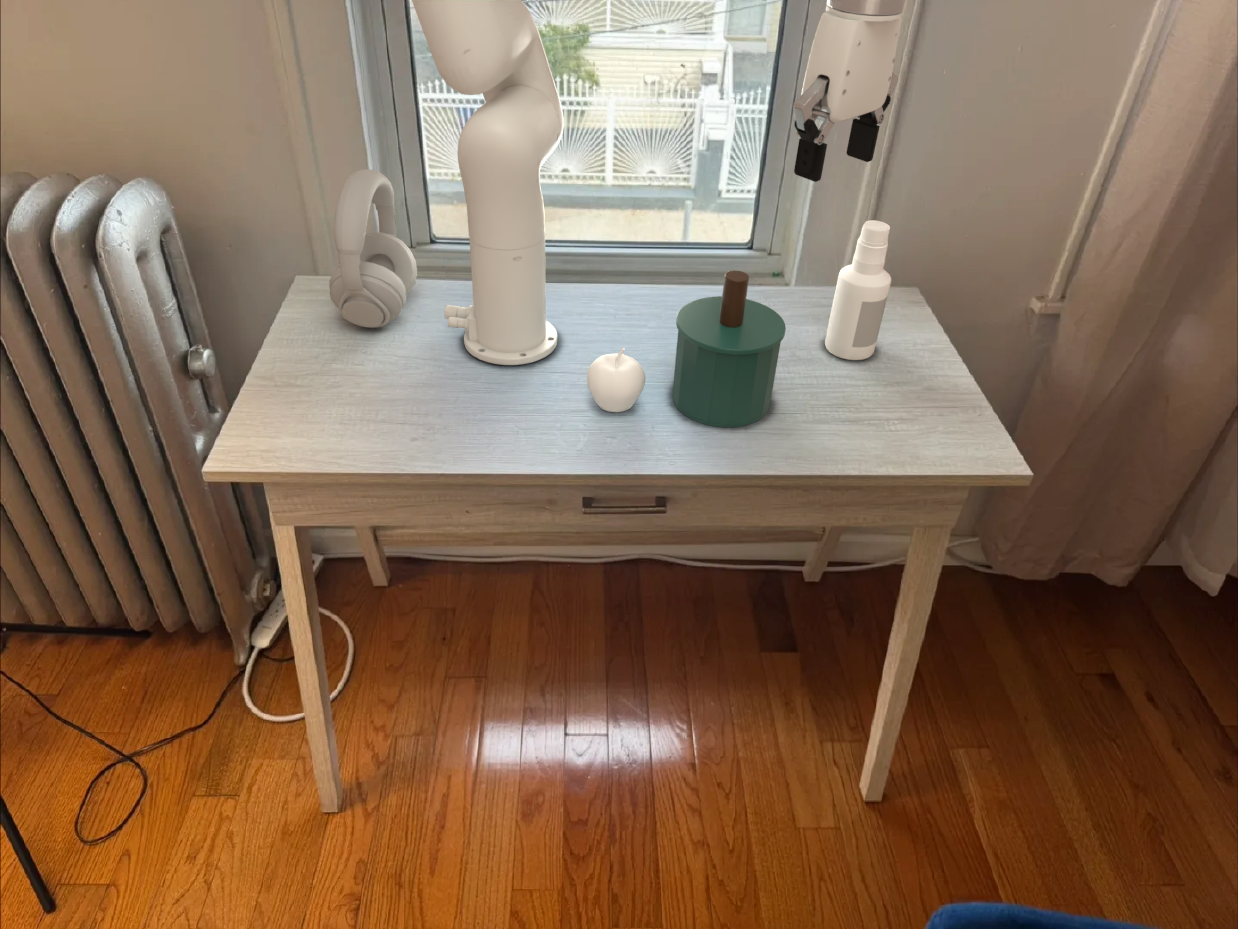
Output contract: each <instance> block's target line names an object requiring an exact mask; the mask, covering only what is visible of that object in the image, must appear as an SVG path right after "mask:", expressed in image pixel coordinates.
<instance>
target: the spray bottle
mask: <svg viewBox="0 0 1238 929" xmlns="http://www.w3.org/2000/svg"><path fill="white" fill-rule="evenodd" d="M890 231H891V226H890V225H889V224H888V223H886V222H885V221H881V220H874V219H873V220H866V221H865V222H864V223H863V225H862V226H861V231H860V234H859V237H858V238H857V242H856V246H855V251H854V253H853V256H852V263H851V264H848V265H847V264H846V265H845V266H843V267H842V268H841V269H840V270H839V273H838V276H837V281H836V286H835V291H834V295H833V300H832V305H831V309H830V316H829V320H828V324H827V325H828V326H827V329H826V334H825V339H824V344H825V349H826V350H827V351H828V352H829V353H830V354H831V355H833V356H835V357H837V358H839V359H842V360H843V359H844V360H848V361H862V360H867V359H869V358H870V357H871V356H873V354H874V353H875V349H876V345H877V342H878V338H879V334H880V329H881V325H882V321H883V317H884V313H885V308H886V305H887V301H888V296H889V292H890V288H891V285H892V277H891V275H890V273H888V271H886V270H885V269H884V267H885V263H886V255H887V253H888V252H887V251H888V247H889V242H888V241H889V234H890Z"/></svg>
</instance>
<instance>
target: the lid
mask: <svg viewBox="0 0 1238 929" xmlns="http://www.w3.org/2000/svg"><path fill="white" fill-rule="evenodd" d="M749 282H750V276H749V274H748V273H747V272H744V271H741V270H728V271H727V272H725V274H724V277H723V287H722V295H721V296H720V295H719V296H718V295H717V296H707V297H702V298H699V299H694V300H693V301H690V302H688V303H686V304H685V305H684V306H682V307H681V308H680V309H679V310H678V312H677V314H676V318H675V319H676V320H675V325H676V328H677V330H678V331H679V332H680V333H681V335H682V336H683V337H684V338H686V339H687V340H688V341H690V342H691V343H693V344H695V345H697V346H699V347H702V348H704V349H707V350H711V351H715V352H719V353H726V354H753V353H759V352H763V351H766V350H769V349H771V348H773V347H775V346H776V345H778V344H779V343H780V342H782V341H783V340H784V338H785V335H786V330H787V329H786V328H787V327H786V323H785V321H784V319H783V317H782V316H781V315H780V314H779V313H778V312H776V311H775V310H774V309H772V308H771V307H769V306H767V305H766V304H763V303H761V302H758V301H755V300H751V299H748V298H747V296H748V289H749V288H748V287H749ZM678 331H677V332H678ZM780 344H781V343H780Z"/></svg>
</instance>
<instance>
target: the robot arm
mask: <svg viewBox="0 0 1238 929" xmlns="http://www.w3.org/2000/svg"><path fill="white" fill-rule="evenodd" d="M411 2H412V5H413V8H414V10H415V13H416V15H417V19H418V21H419V24H420V26H421V29H422V32H423V34H424V37H425V41H426V42H427V45H428V48H429V51H430V54H431V56H432V60H433V62H434V65H435V67H436V69H437V72H438V74H439V75H440V77H441V79H442V80H443V81H444V83H445V84H446V85H447V86H449V87H450V88H451V89H452V90H453V91H455V92H456V93H458V94H460V95H466V96H474V95H475V96H476V95H482V96H483V98H484V102H485V103H483V104H482V105H481V106H480V107H479V108H477V110H475V111H474V112H473V114H472V115H471V116H470V117H469V118H468V119H467V121H466V122H465V124H464V126H463V127H462V129H461V132H460V134H459V138H458V142H457V162H458V168H459V173H460V178H461V183H462V186H463V192H464V198H465V205H466V215H467V216H466V217H467V230H468V239H469V255H470V256H469V257H470V271H471V273H470V274H471V287H472V302H473V305H467V307H466V306H465V307H463V306H459V305H452V304H445V306H444V309H443V316H444V317H443V318H444V320H447V327H448V328H453V329H454V328H455V329H456V328H457V329H458V328H460V329H464V334H463V344H464V347H465V349H466V351H467V352H468V353H469V354H470V355H471V356H472V357H474V358H476V359H477V360H480V361H482V362H486V363H490V364H493V365H500V366H519V365H527V364H531V363H534V362H539V361H540V360H542V359H544V358H546V357H547V356H549V355H550V354H552V353H553V351H554V350H555V349H556V348H557V345H558V331H557V329H556V327H555V326H554V324H552V323H551V322H549V321H548V320H547V303H546V302H547V301H546V300H547V297H546V296H547V295H546V294H547V293H546V290H547V289H546V288H547V287H546V286H547V284H546V282H547V281H546V276H547V275H546V222H545V221H546V219H545V218H546V217H545V206H544V198H543V192H542V188H541V187H542V186H541V181H540V173H541V169H542V166H543V165H544V163H545V162H546V161H547V159H548V158H549V157H550V156H551V155H552V154H553V152H554V151H555V150H556V148H558V145H559V143H560V141H561V139H562V137H563V133H564V128H565V126H564V125H565V120H564V111H563V107H562V103H561V99H560V96H559V92H558V89H557V86H556V83H555V79H554V76H553V73H552V70H551V67H550V63H549V61H548V57H547V53H546V50H545V47H544V44H543V41H542V38H541V35H540V32H539V29H538V26H537V24H536V22H535V19H534V17H533V16H532V13H531V12H530V10H529V8H528V7H527V6H526V4H525V3H524V2H523V1H522V0H411ZM905 2H906V0H826V5H825V11H824V12H823V13H822V14H821V17H820V19H819V22H818V24H817V28H816V31H815V33H814V38H813V40H812V44H811V48H810V52H809V56H808V61H807V65H806V68H805V74H804V79H803V83H802V87H801V94H800V96H799V97H798V98H797V99H796V100H795V101H794V103H793V106H792V108H793V109H792V110H793V116H794V128H795V130H796V138H798V143H797V150H796V156H795V162H794V169H793V172H794V175H796V176H798V177H801V178H803V179H806V180H809V181H812V182H814V183H817V182H819V181H821V179H822V175H823V170H824V165H825V159H826V153H827V148H828V143H825V140H826V138H827V137H828V135H829V133H830V131H831V130H832V128H833V126H834V124H835V123H836V124H837V123H842V122H844V121H848V120H851V119H852V122H851V126H850V132H849V137H848V141H847V147H846V155H847V156H849V157H851V158H854V159H857V160H860V161H862V162H865V163H869V162H872V161H873V159H874V154H875V151H876V150H875V149H876V145H877V141H878V138H879V137H878V136H879V131H880V127H881V124H883V122H884V121H885V120H884V119H885V112H886V110H887V108H888V107H889V105H891V102H892V100H891V99H892V97H891V96H892V94H893V92H894V90H895V88H896V86H897V84H898V81H899V76H897V74H896V73H894V72H893V71H894V66H895V61H896V56H897V47H898V41H899V40H898V39H899V34H900V33H899V31H900V21H901V19H902V17H903V13H904V7H905ZM828 111H829V112H828ZM816 120H817V121H820V122H822V123H821V125H820V126H819V128H818V126H817V124H816V123H815V122H816Z"/></svg>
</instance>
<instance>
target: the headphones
mask: <svg viewBox="0 0 1238 929" xmlns="http://www.w3.org/2000/svg"><path fill="white" fill-rule="evenodd" d="M337 198H338V199H337V203H336V207H335V212H334V243H335V247H336V251H337V255H338V264H339V266H337V268H336V269H335V270H334V271H333V272H332V274H331V275H330V279H329V283H328V284H329V285H328V286H329V287H328V289H329V297H330V301H331V302H332V304H333V305H334V307H335V308H337V309H338V312H339V314H340V316H341V317H342V318H344V319H345V321H347V322H349V323H352V324H353V325H356V326H359V327H362V328H370V329H371V328H373V329H375V328H380V327H384V326H386V325H388V323H389V322H392V321H394V320H395V319H396V318H398V317H399V316H400V314H401V312H402V311H403V308H404V306H405V304H406V302H407V297H408V296H409V295H410V294H411V292H412V290H413V288H414V287H415V284H416V282H417V276H418V266H417V261H416V258H415V257H414V256H415V255H414V254H413V252H412V250H411V249H410V248H409V246H407V245H406V244H405V242H404V241H403V240H401V239H400V238H398V237H397V220H396V213H395V211H396V207H395V191H394V188H393V185H392V183H391V181H390V180H389V178H387V176H386V175H384V174H383V173H381V172H380V171H378V170H374V169H370V168H369V169H360V170H356V171H355V172H353V173H352V174H350V175H349V177H347V179H346V180H345V182H344V184H342V188H341V189H340V192H339V195H338V197H337ZM371 204H374V206H375V210H376V211H377V220H378V232H371V233H368V234H366V232H367V226H368V220H369V214H370V208H371Z"/></svg>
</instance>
